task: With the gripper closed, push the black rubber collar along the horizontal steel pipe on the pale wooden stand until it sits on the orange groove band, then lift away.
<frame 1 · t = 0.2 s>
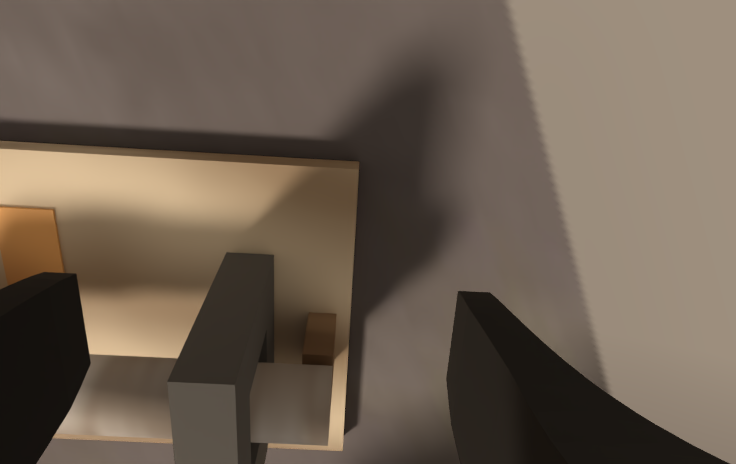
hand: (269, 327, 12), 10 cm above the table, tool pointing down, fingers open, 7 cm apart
pipe stand: (190, 317, 23), on the table
collar: (233, 400, 19), point 5 cm above the table, slide at 0.0 cm
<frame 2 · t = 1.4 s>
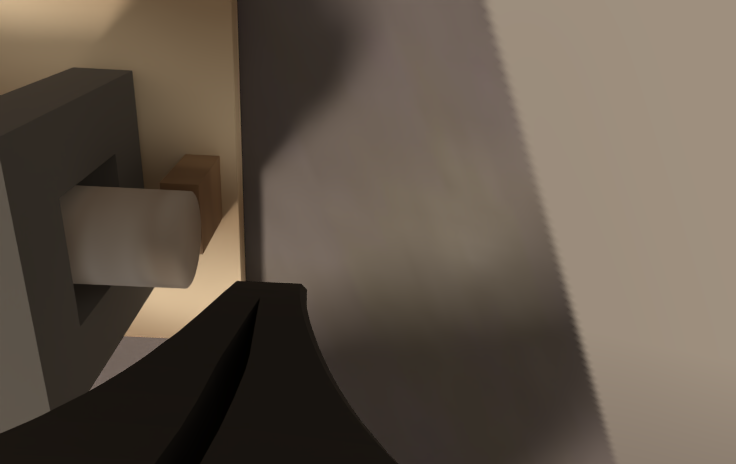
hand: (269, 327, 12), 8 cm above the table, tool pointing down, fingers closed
pipe stand: (48, 170, 19), on the table
collar: (65, 233, 15), point 4 cm above the table, slide at 0.0 cm
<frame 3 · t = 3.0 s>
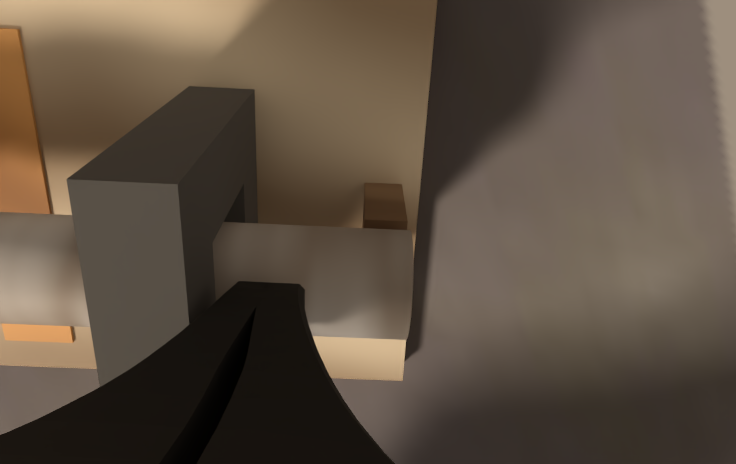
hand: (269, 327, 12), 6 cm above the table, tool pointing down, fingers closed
pipe stand: (205, 198, 17), on the table
collar: (196, 275, 13), point 5 cm above the table, slide at 1.6 cm, touching gripper
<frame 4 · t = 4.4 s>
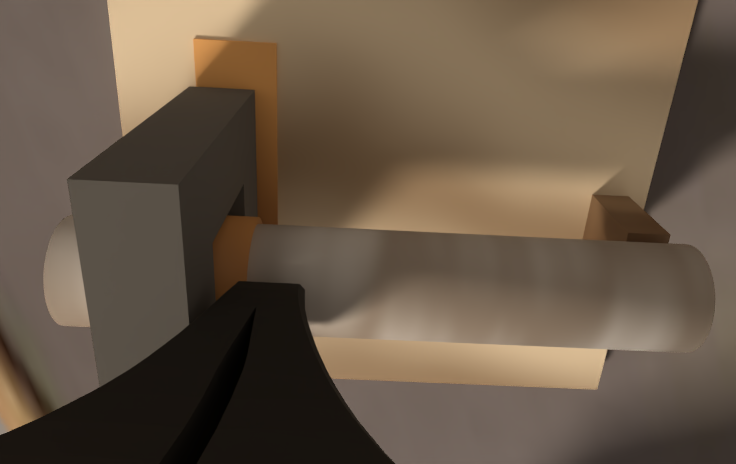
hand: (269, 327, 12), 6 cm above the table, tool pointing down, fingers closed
pipe stand: (420, 209, 18), on the table
collar: (196, 275, 13), point 4 cm above the table, slide at 7.8 cm, touching gripper
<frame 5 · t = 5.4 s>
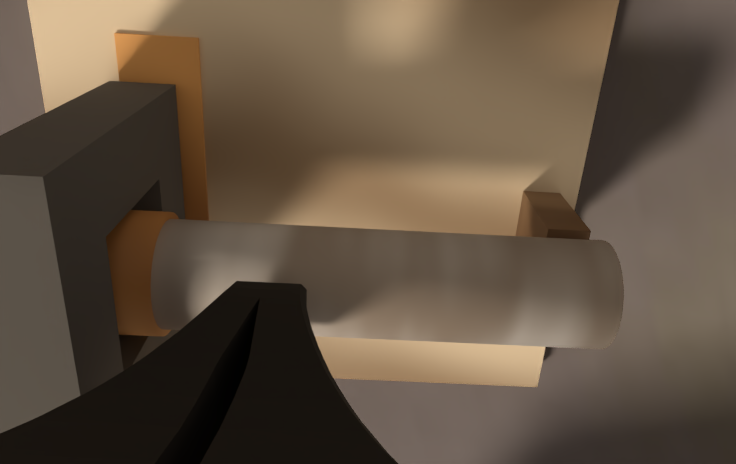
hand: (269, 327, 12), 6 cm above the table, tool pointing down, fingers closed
pipe stand: (355, 205, 18), on the table
collar: (105, 270, 13), point 4 cm above the table, slide at 7.9 cm
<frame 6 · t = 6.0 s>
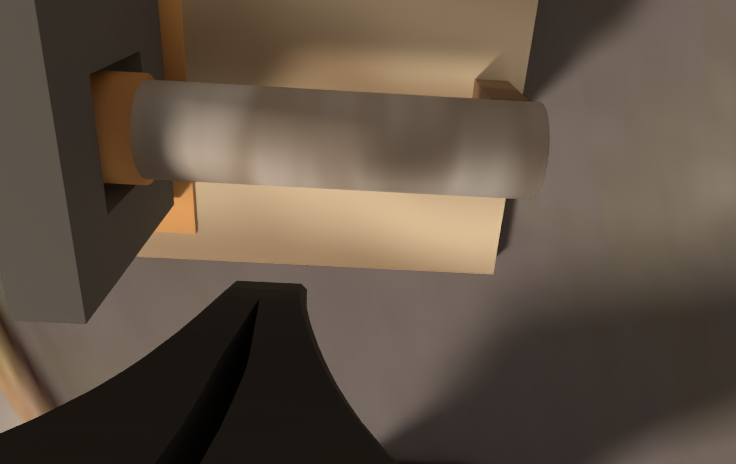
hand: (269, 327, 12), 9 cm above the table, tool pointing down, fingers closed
pipe stand: (323, 98, 19), on the table
collar: (91, 126, 15), point 5 cm above the table, slide at 7.9 cm
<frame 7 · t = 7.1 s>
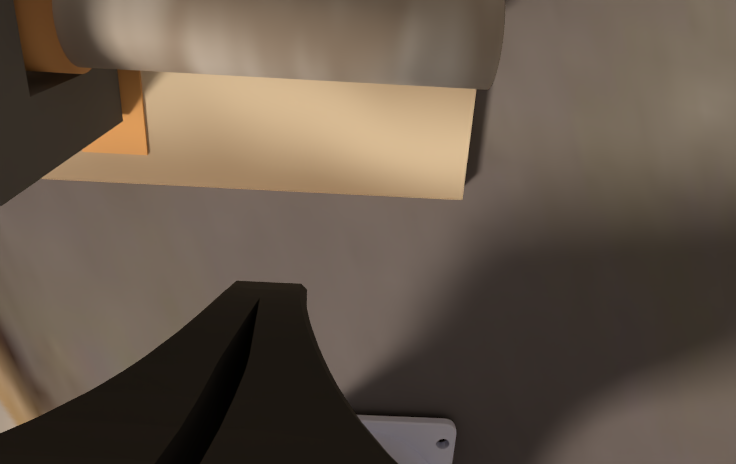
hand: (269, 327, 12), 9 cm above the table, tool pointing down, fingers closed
pipe stand: (279, 7, 18), on the table
collar: (17, 9, 14), point 5 cm above the table, slide at 7.9 cm
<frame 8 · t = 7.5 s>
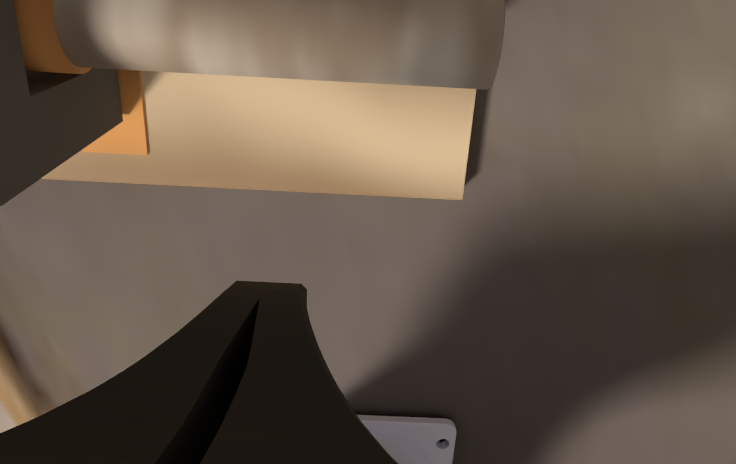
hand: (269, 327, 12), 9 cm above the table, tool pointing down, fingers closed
pipe stand: (279, 7, 18), on the table
collar: (17, 9, 14), point 5 cm above the table, slide at 7.9 cm
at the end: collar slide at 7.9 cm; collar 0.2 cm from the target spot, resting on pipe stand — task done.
